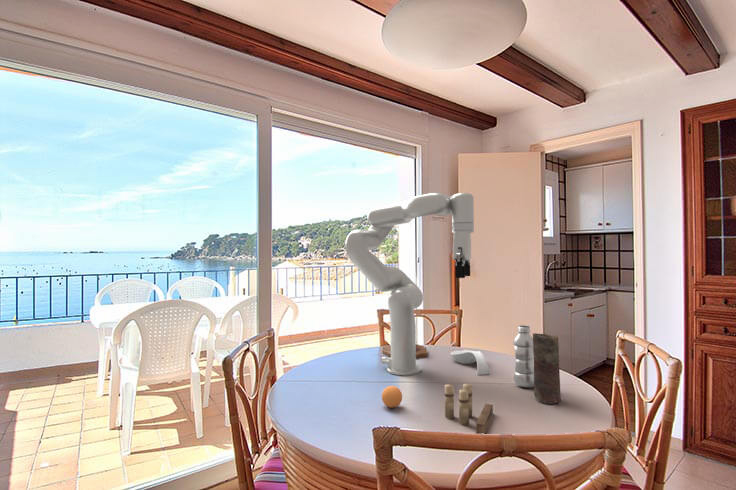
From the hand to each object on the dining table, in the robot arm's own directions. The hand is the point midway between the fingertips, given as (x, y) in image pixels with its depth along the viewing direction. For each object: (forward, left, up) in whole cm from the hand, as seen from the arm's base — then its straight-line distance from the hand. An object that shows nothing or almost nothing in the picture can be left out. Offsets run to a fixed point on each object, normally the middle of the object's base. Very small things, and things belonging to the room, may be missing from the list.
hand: (463, 276), depth 141 cm
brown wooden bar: (+12, -33, -36) cm, 50 cm away
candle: (+27, -9, -36) cm, 46 cm away
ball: (-14, -33, -33) cm, 49 cm away
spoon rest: (-1, +18, -37) cm, 41 cm away
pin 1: (+7, -31, -36) cm, 48 cm away
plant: (-31, +25, -37) cm, 54 cm away
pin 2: (+7, -36, -36) cm, 51 cm away
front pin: (+3, -33, -36) cm, 49 cm away
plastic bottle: (+20, +1, -36) cm, 41 cm away
